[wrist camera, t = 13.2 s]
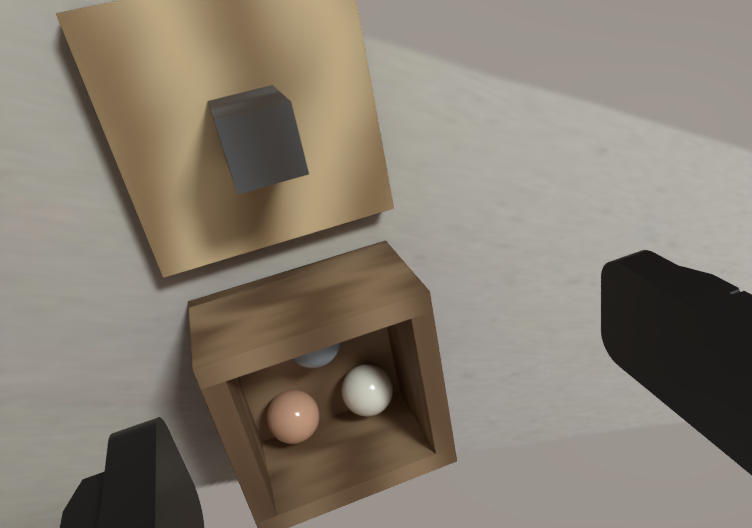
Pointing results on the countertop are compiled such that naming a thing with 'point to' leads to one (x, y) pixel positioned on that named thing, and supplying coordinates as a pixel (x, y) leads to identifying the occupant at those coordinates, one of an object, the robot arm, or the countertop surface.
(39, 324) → the countertop surface
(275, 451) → the box
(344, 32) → the lid
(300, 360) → the ball slate
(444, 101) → the countertop surface
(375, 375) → the ball cream
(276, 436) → the ball terracotta
